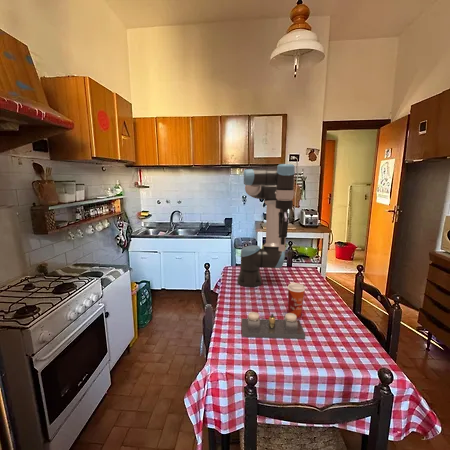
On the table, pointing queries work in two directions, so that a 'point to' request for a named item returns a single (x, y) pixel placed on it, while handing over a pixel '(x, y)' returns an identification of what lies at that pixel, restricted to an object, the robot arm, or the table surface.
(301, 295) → the coffee cup
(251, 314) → the knob
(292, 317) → the knob
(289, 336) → the panel
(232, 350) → the table surface
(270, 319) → the potentiometer
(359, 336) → the table surface
